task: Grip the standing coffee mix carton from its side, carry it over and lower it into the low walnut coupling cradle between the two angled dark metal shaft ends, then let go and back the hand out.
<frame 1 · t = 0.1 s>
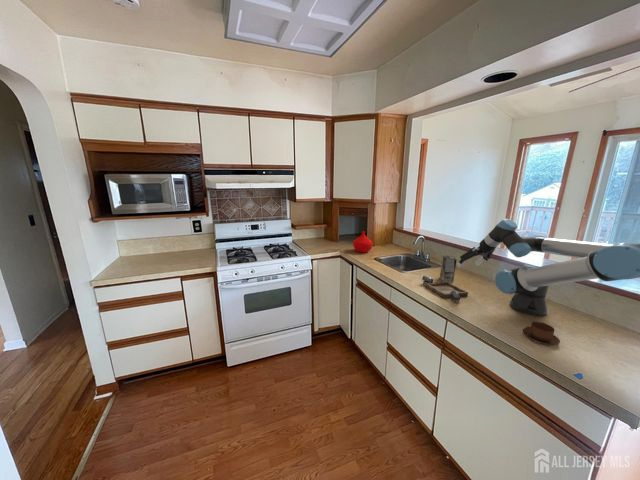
hand: (467, 265, 153), 15 cm above the countertop, tool tilted 35°, fingers open, 13 cm apart
shaft 2: (455, 297, 138), on the countertop
cup and saucer: (539, 339, 106), on the countertop
coupling cradle: (445, 291, 151), on the countertop
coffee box: (446, 280, 170), on the countertop
vase: (362, 251, 236), on the countertop
shaft 1: (427, 281, 160), on the countertop
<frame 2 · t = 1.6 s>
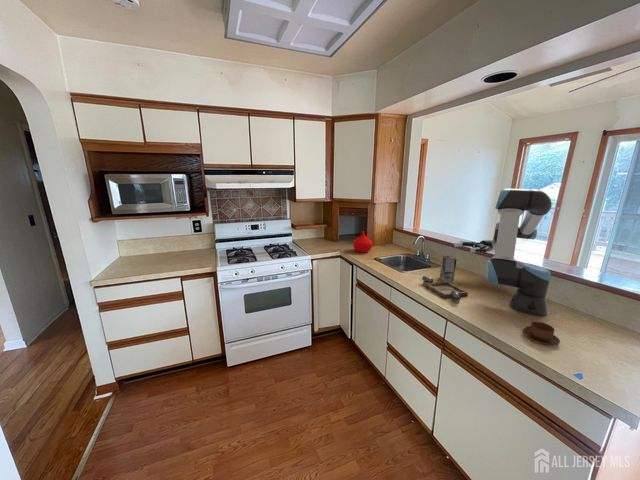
hand: (462, 247, 166), 23 cm above the countertop, tool horizontal, fingers open, 13 cm apart
nothing on the countertop moved.
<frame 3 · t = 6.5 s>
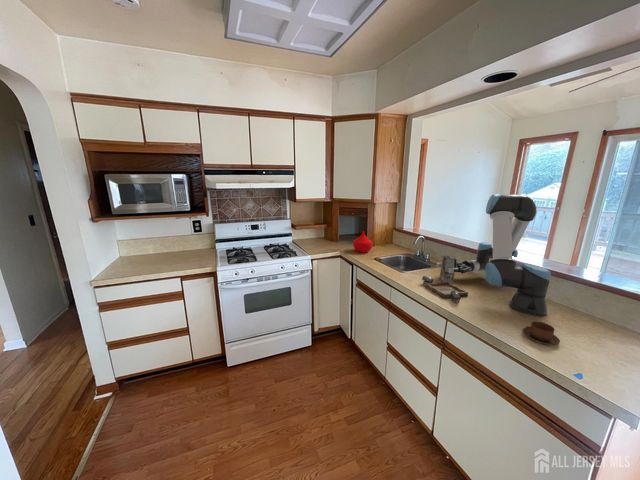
hand: (442, 267, 166), 9 cm above the countertop, tool horizontal, fingers closed on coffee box, 10 cm apart
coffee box: (446, 280, 170), on the countertop, touching gripper
everything else where it was.
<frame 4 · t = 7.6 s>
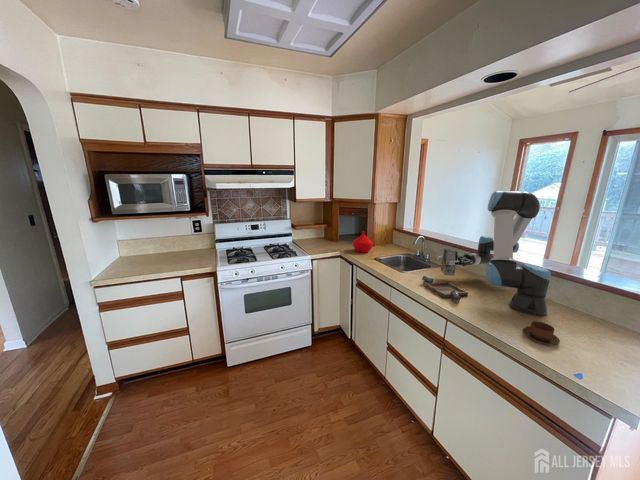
hand: (443, 260, 166), 14 cm above the countertop, tool horizontal, fingers closed on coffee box, 10 cm apart
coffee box: (447, 273, 169), point 5 cm above the countertop, touching gripper
everything else where it was.
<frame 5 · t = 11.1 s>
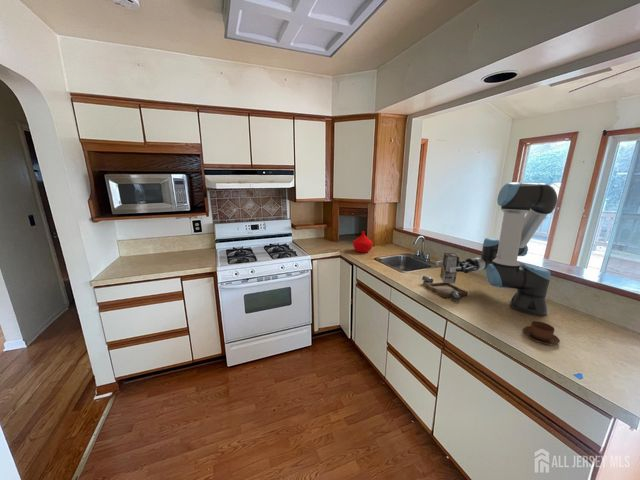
hand: (443, 266, 147), 16 cm above the countertop, tool horizontal, fingers closed on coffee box, 10 cm apart
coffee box: (447, 280, 150), point 7 cm above the countertop, touching gripper
everything else where it was.
when the fingers open (11 cm above the countertop, at t = 13.1 s): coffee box drops 1 cm, resting on coupling cradle.
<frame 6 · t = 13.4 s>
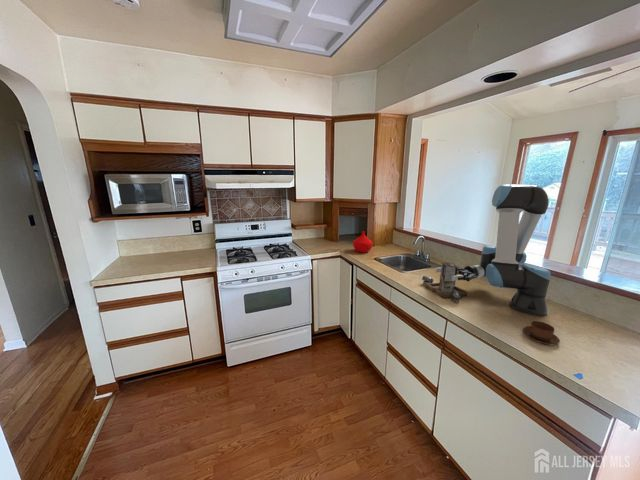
hand: (443, 274, 148), 12 cm above the countertop, tool horizontal, fingers open, 13 cm apart
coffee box: (446, 290, 151), point 1 cm above the countertop, touching coupling cradle
everything else where it was.
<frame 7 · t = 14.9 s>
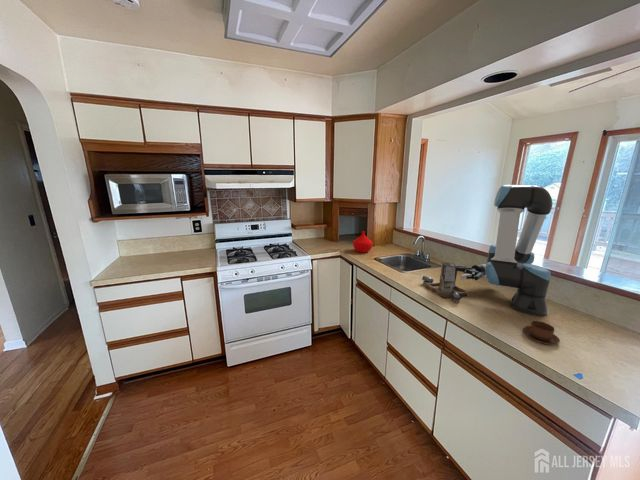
hand: (452, 273, 149), 12 cm above the countertop, tool horizontal, fingers open, 13 cm apart
nothing on the countertop moved.
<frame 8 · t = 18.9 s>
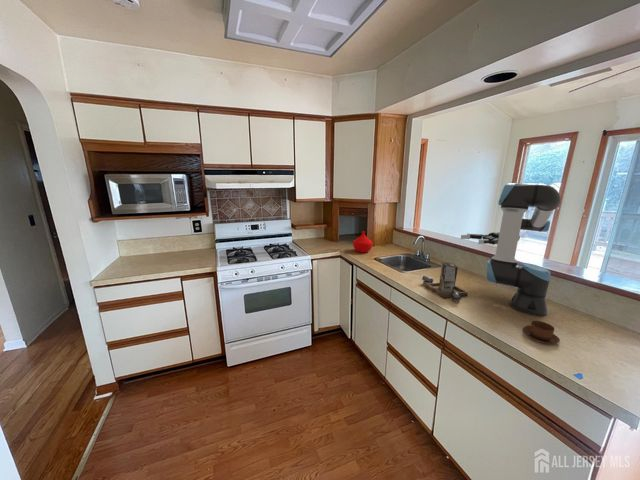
hand: (469, 239, 157), 30 cm above the countertop, tool horizontal, fingers open, 13 cm apart
nothing on the countertop moved.
at the end: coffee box inside the target area on the coupling cradle (0.1 cm from its centre), point 0.8 cm above the coupling cradle's base; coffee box tilted 0°; the gripper is holding nothing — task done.
